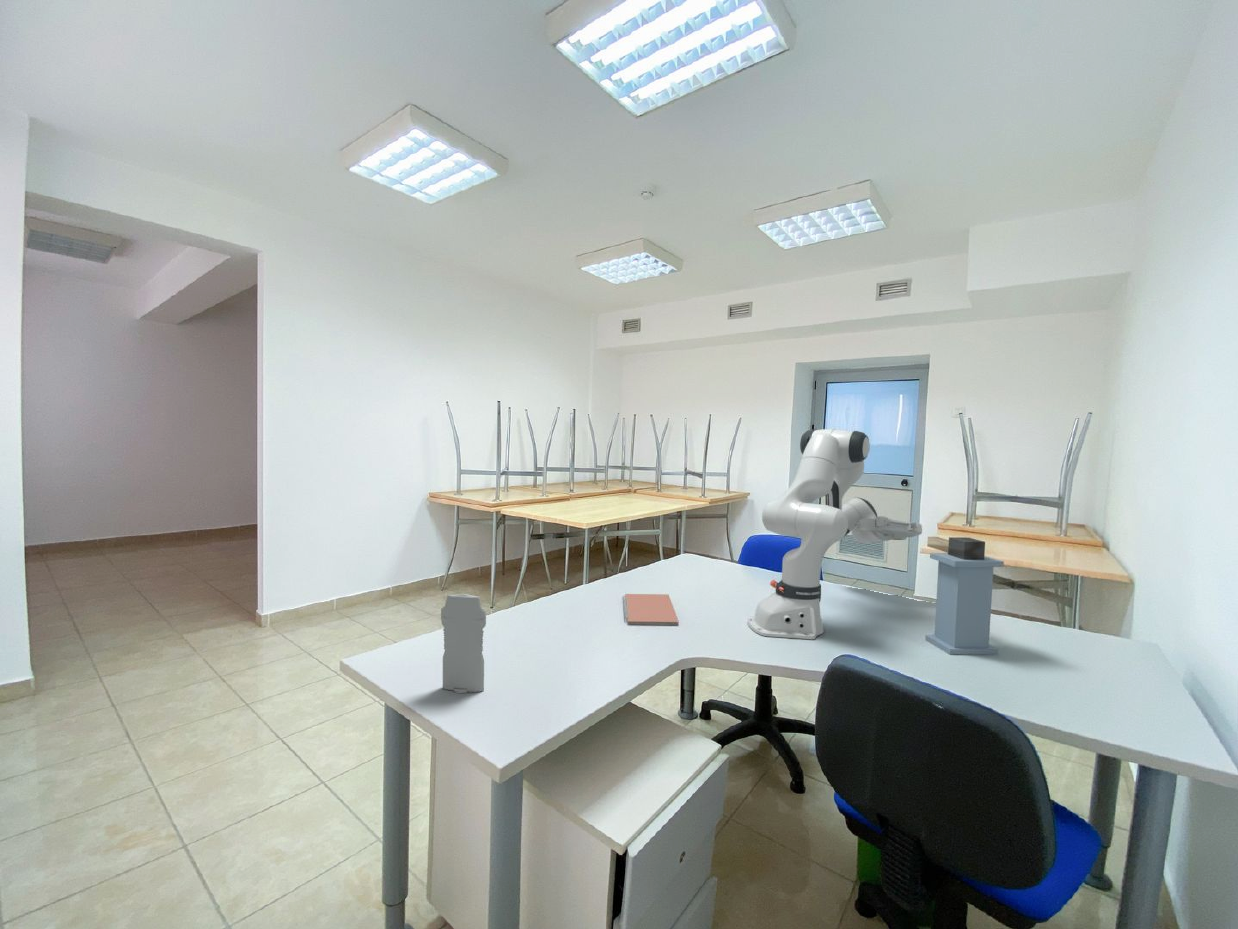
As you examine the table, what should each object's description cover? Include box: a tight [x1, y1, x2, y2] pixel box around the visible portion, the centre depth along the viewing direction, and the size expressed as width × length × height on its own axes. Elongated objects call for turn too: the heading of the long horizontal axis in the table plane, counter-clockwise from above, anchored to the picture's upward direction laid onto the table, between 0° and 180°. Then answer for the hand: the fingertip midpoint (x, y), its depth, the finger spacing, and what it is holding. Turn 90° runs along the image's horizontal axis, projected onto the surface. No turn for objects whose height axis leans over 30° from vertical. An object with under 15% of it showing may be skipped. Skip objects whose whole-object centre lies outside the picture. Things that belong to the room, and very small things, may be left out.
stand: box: [924, 552, 1005, 656], centre depth 143 cm, size 14×10×26 cm
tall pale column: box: [440, 593, 487, 694], centre depth 114 cm, size 11×4×22 cm, turn 83°
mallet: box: [926, 536, 986, 560], centre depth 148 cm, size 6×17×5 cm, turn 4°
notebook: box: [621, 593, 680, 626], centre depth 169 cm, size 27×17×2 cm, turn 1°
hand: (901, 523), depth 171 cm, fingers open, 8 cm apart
